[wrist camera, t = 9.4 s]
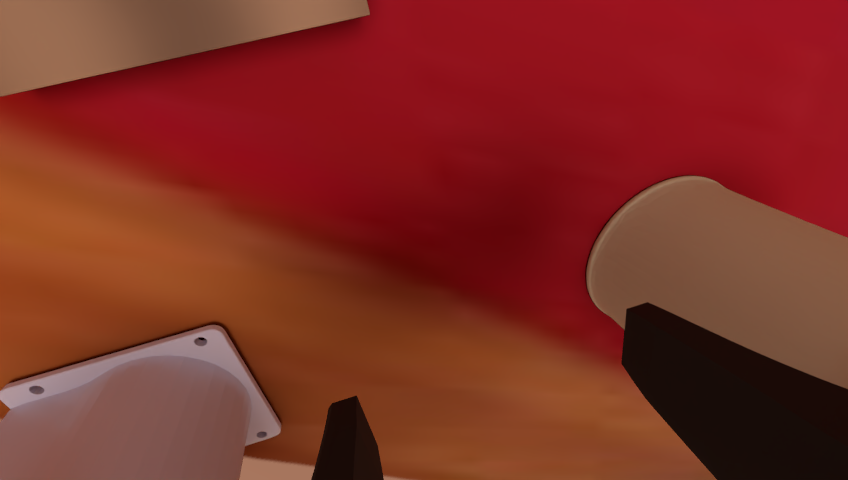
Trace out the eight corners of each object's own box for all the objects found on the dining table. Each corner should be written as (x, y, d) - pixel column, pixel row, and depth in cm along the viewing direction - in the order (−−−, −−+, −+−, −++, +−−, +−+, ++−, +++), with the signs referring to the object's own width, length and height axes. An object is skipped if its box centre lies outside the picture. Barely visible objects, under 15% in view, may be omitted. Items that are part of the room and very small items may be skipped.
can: (569, 324, 24) (759, 552, 13) (609, 177, 19) (935, 345, 9) (695, 309, 26) (945, 497, 15) (757, 172, 22) (1160, 305, 11)
